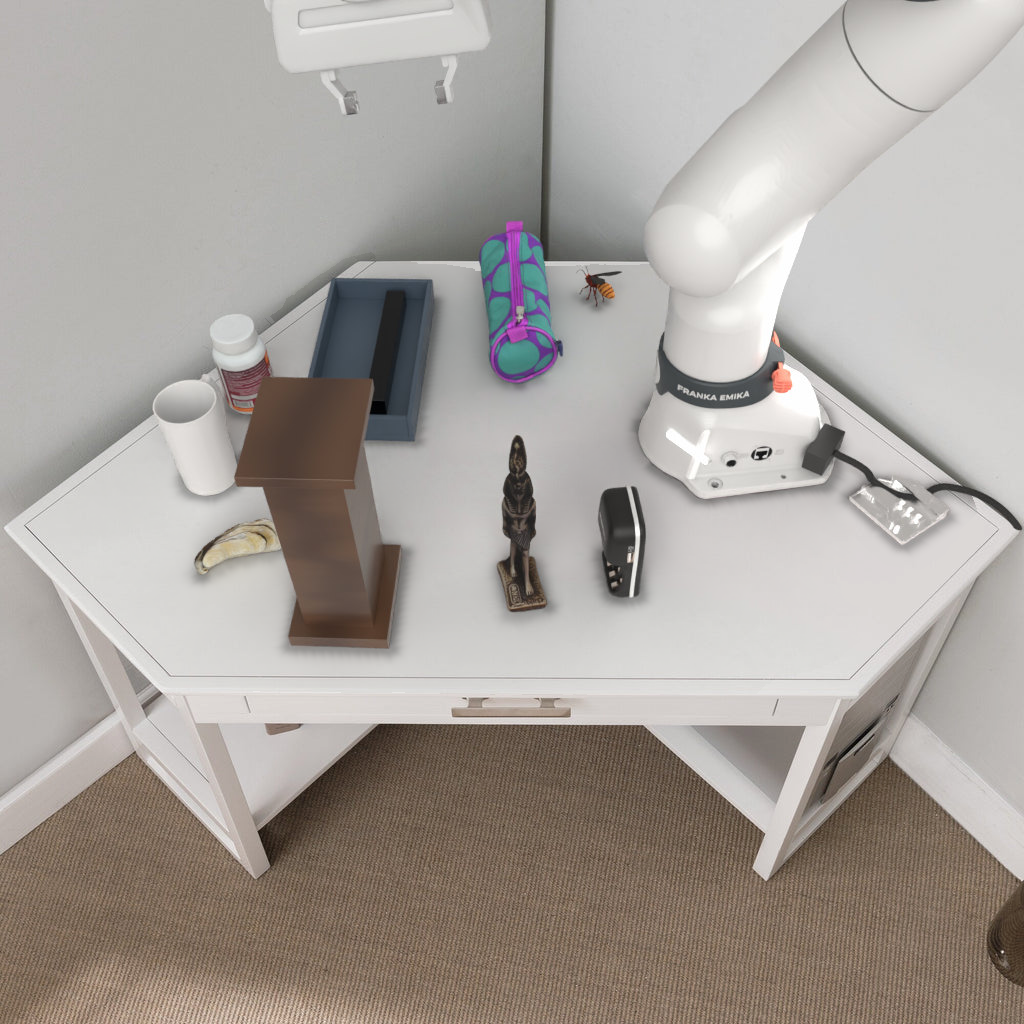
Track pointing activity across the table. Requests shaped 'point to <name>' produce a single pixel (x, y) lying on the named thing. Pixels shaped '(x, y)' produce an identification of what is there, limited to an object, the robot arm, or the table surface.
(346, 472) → the stand
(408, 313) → the tray
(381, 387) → the rod
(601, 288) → the insect
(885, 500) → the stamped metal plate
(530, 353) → the pencil case
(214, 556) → the oyster shell
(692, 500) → the table surface
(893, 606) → the table surface
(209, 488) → the mug
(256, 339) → the pill bottle
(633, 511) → the battery charger
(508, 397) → the table surface
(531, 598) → the statue
